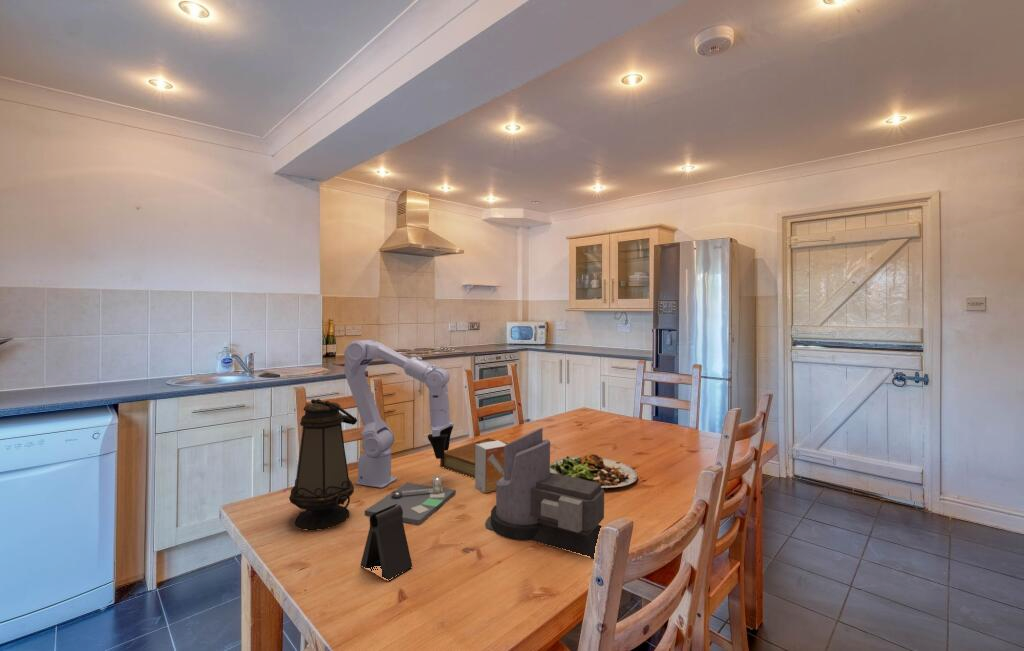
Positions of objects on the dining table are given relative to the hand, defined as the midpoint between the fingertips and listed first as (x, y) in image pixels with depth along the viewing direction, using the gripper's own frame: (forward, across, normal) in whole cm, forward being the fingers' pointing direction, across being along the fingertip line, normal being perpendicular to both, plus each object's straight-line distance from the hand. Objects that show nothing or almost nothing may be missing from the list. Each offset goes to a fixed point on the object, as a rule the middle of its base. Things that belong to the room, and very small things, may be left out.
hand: (442, 454), depth 132 cm
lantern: (+8, -22, +27) cm, 36 cm away
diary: (+11, +21, -10) cm, 25 cm away
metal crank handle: (+8, -9, +6) cm, 13 cm away
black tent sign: (+10, -42, +4) cm, 44 cm away
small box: (+11, 0, -14) cm, 18 cm away
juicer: (+12, -25, -28) cm, 40 cm away
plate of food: (+14, +12, -46) cm, 49 cm away
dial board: (+10, -12, +6) cm, 17 cm away
